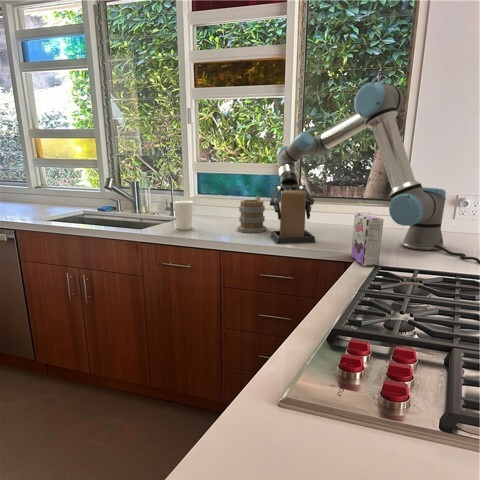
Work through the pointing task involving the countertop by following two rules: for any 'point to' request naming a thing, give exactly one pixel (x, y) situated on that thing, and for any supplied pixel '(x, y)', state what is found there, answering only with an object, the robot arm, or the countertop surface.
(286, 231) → the block
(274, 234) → the dark grey square tray
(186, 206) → the foam cup
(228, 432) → the countertop surface
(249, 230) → the tankard
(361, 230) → the candy box
